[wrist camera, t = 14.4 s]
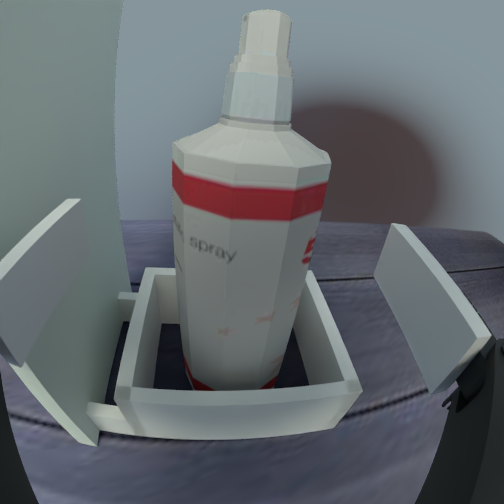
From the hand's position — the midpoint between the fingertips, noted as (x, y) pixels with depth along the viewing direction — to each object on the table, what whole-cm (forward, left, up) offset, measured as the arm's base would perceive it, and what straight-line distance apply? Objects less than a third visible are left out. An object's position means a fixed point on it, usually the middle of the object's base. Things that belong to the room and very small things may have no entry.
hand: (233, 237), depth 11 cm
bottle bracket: (+1, -5, -15) cm, 16 cm away
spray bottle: (-1, -4, -16) cm, 16 cm away
